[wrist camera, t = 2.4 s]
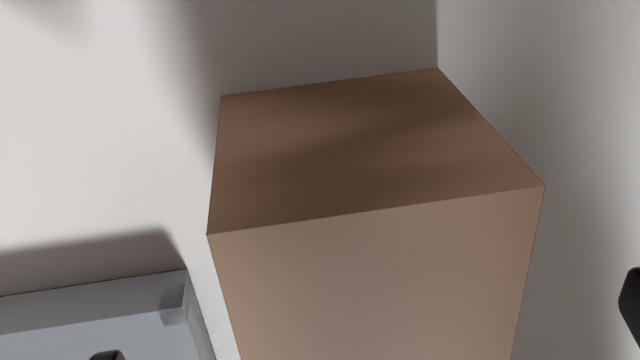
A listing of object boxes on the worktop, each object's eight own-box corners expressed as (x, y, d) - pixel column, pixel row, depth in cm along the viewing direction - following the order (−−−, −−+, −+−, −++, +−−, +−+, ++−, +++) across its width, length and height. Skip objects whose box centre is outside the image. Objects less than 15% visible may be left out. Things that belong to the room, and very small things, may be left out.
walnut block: (436, 66, 11) (545, 185, 7) (428, 232, 14) (503, 387, 10) (221, 94, 11) (206, 234, 7) (256, 258, 14) (259, 428, 10)
